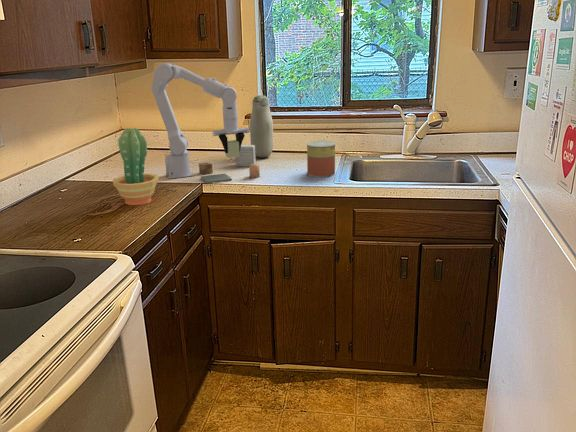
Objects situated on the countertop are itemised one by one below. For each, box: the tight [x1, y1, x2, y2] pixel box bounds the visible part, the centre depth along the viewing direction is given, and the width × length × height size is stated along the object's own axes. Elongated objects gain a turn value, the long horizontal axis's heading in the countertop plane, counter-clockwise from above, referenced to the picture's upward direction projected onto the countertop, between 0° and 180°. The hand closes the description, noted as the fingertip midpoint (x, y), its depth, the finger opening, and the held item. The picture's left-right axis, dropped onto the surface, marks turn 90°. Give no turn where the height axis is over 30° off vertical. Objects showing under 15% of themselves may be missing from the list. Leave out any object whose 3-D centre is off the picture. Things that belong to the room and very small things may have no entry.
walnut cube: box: [198, 161, 214, 176], centre depth 218 cm, size 4×4×4 cm
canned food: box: [306, 140, 336, 178], centre depth 213 cm, size 11×11×12 cm
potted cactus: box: [112, 127, 159, 206], centre depth 179 cm, size 15×15×25 cm
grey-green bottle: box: [249, 94, 274, 159], centre depth 240 cm, size 10×10×28 cm
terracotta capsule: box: [248, 163, 261, 179], centre depth 211 cm, size 4×4×5 cm
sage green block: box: [225, 139, 240, 159], centre depth 214 cm, size 4×4×6 cm
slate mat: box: [200, 173, 232, 185], centre depth 209 cm, size 10×9×1 cm
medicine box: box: [235, 144, 257, 167], centre depth 229 cm, size 8×4×9 cm, turn 84°
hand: (232, 152), depth 214 cm, fingers closed on sage green block, 4 cm apart
